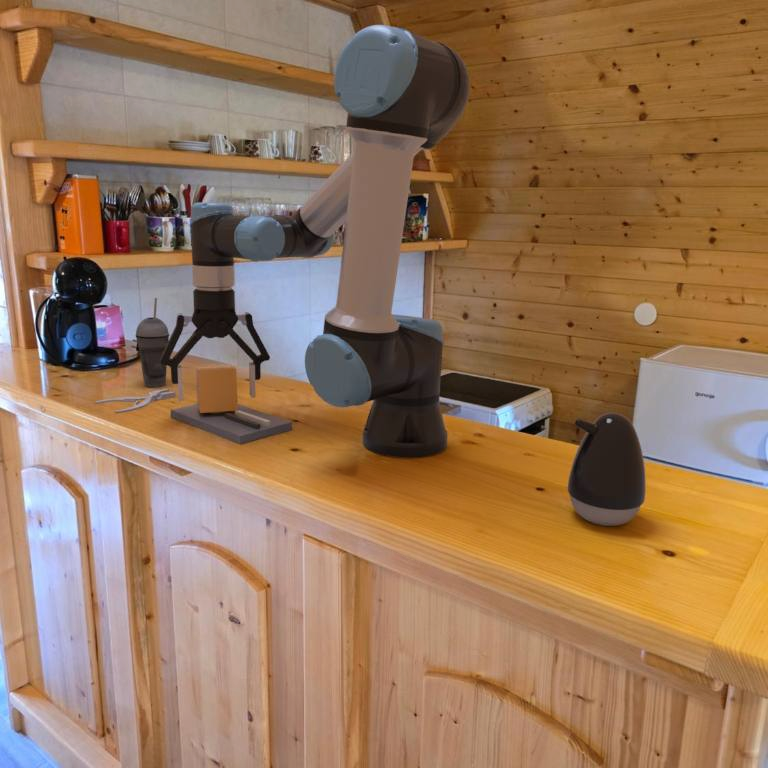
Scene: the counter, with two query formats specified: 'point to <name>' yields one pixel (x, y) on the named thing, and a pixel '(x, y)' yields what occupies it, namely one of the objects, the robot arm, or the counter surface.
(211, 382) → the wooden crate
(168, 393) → the pliers
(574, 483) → the pump dispenser
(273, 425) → the plate
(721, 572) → the counter surface
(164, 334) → the beverage cup
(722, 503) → the counter surface
